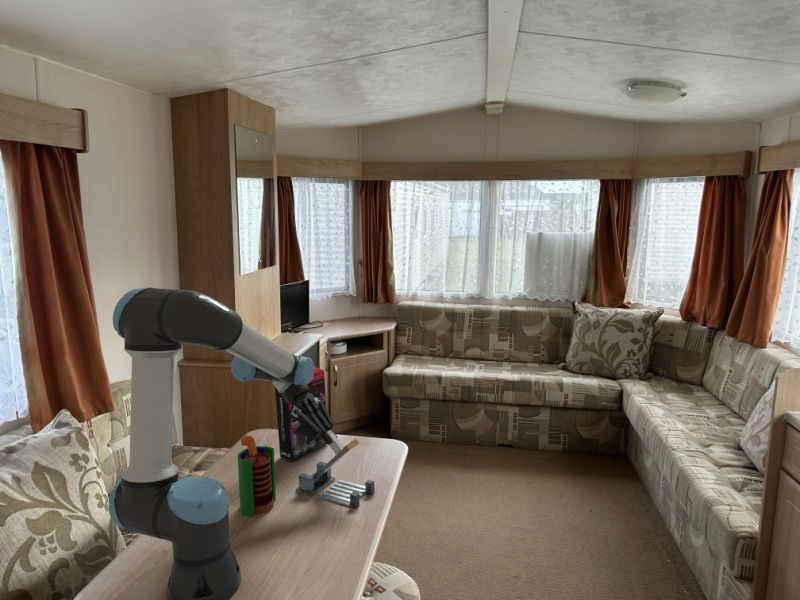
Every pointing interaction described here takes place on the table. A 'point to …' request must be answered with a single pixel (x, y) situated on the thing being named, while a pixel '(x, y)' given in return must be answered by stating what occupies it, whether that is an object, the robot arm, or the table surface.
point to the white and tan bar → (334, 460)
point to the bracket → (334, 488)
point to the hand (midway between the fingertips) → (340, 451)
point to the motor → (256, 478)
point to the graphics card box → (290, 431)
